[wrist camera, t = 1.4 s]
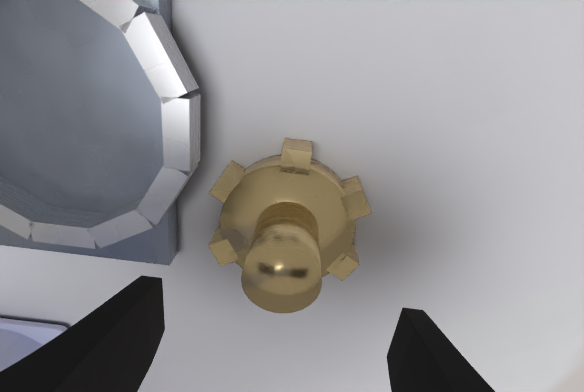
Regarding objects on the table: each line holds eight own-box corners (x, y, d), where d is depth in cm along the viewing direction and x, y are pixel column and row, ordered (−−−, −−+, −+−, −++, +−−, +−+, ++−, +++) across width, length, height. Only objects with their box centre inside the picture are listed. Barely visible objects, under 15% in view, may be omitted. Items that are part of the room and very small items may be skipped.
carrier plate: (206, 255, 18) (186, 296, 15) (-74, 221, 18) (-149, 256, 15) (211, -151, 11) (178, -219, 8) (-236, -210, 11) (-432, -301, 8)
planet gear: (346, 282, 18) (359, 367, 13) (215, 266, 18) (182, 346, 13) (376, 149, 15) (408, 198, 10) (219, 130, 15) (178, 170, 10)
